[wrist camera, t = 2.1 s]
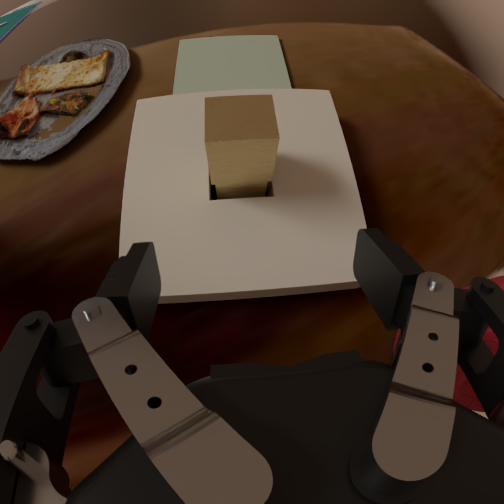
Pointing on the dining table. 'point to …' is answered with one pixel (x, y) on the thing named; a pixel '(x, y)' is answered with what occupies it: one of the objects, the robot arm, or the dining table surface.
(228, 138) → the tan rectangular block
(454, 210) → the dining table surface
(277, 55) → the green pad
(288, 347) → the dining table surface
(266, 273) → the cover plate
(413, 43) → the dining table surface
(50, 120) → the food plate
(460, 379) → the wine bottle
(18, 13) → the place mat
